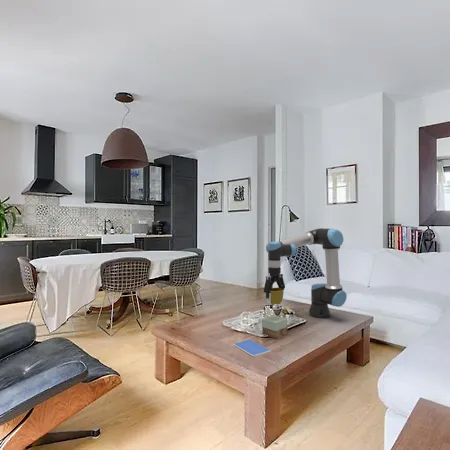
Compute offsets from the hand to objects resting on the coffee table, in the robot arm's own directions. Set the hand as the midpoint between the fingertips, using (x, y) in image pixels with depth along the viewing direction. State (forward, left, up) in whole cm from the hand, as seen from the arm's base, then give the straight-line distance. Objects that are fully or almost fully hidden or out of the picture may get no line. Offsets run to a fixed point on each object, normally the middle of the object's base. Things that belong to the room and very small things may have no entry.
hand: (274, 301), depth 202 cm
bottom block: (0, 0, -21) cm, 21 cm away
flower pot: (0, 0, -1) cm, 1 cm away
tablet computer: (+26, +4, -21) cm, 34 cm away
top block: (0, 0, -16) cm, 16 cm away
